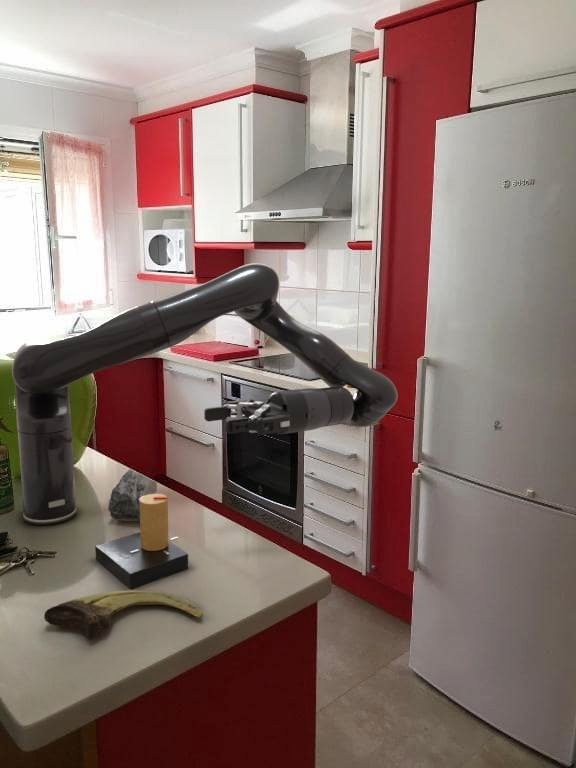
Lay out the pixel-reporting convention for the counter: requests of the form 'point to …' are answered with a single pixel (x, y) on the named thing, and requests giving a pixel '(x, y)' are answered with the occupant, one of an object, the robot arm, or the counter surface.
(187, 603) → the claw
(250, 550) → the counter surface
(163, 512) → the tan cylinder
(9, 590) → the counter surface
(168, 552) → the panel
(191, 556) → the counter surface
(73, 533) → the counter surface
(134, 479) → the stone
